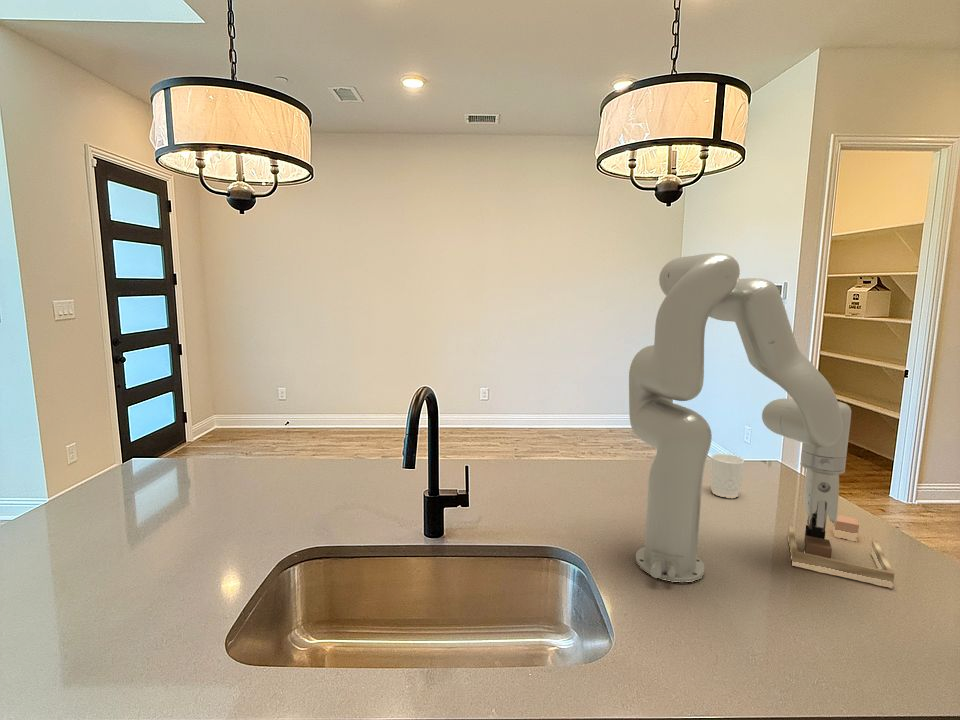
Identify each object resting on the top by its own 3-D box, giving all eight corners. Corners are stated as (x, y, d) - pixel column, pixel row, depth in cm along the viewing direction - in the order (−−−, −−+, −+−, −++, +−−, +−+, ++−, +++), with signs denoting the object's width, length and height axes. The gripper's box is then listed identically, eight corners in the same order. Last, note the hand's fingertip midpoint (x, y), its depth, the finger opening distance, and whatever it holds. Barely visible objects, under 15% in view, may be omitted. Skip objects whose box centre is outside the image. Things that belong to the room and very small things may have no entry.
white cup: (733, 502, 129) (736, 465, 127) (703, 493, 135) (705, 457, 133) (746, 495, 134) (749, 459, 132) (716, 486, 140) (719, 451, 138)
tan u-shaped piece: (892, 589, 91) (894, 573, 91) (791, 566, 98) (793, 552, 98) (875, 555, 103) (877, 541, 103) (787, 536, 111) (788, 524, 110)
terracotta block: (856, 542, 109) (859, 525, 108) (834, 538, 111) (836, 520, 110) (853, 535, 112) (855, 518, 112) (832, 530, 114) (834, 514, 114)
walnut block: (829, 568, 98) (832, 549, 97) (805, 562, 100) (807, 544, 99) (826, 558, 101) (829, 540, 101) (803, 553, 103) (805, 535, 103)
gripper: (852, 475, 93) (841, 568, 96) (839, 454, 106) (830, 535, 109) (804, 468, 97) (795, 557, 99) (797, 448, 110) (789, 527, 112)
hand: (813, 546), depth 104 cm, fingers closed
